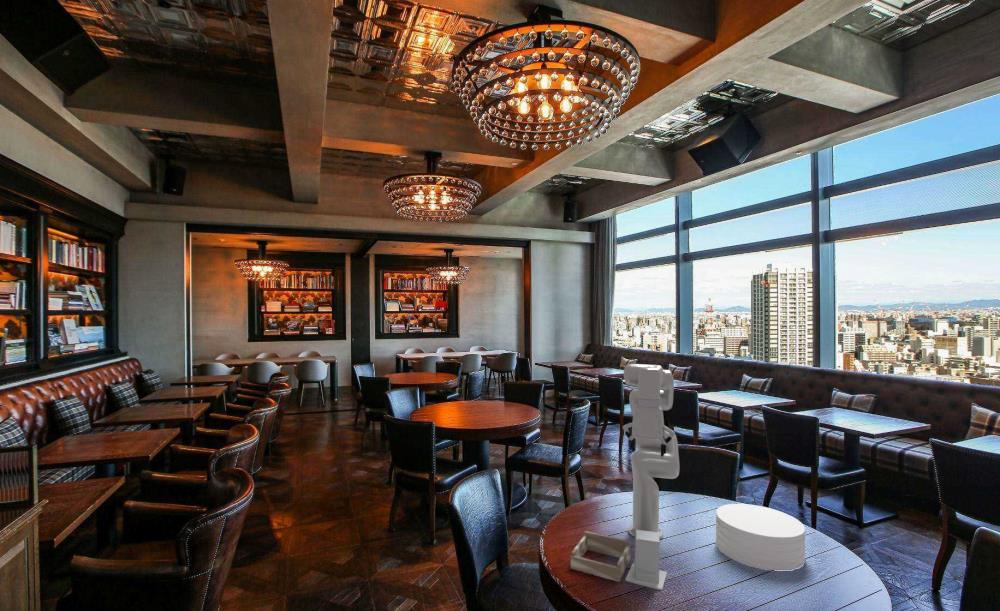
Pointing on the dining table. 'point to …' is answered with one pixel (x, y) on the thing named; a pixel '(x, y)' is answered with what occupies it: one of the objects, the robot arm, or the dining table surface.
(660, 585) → the mat
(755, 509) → the plate stack
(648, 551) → the supplement box
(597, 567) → the cold frame
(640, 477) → the robot arm
